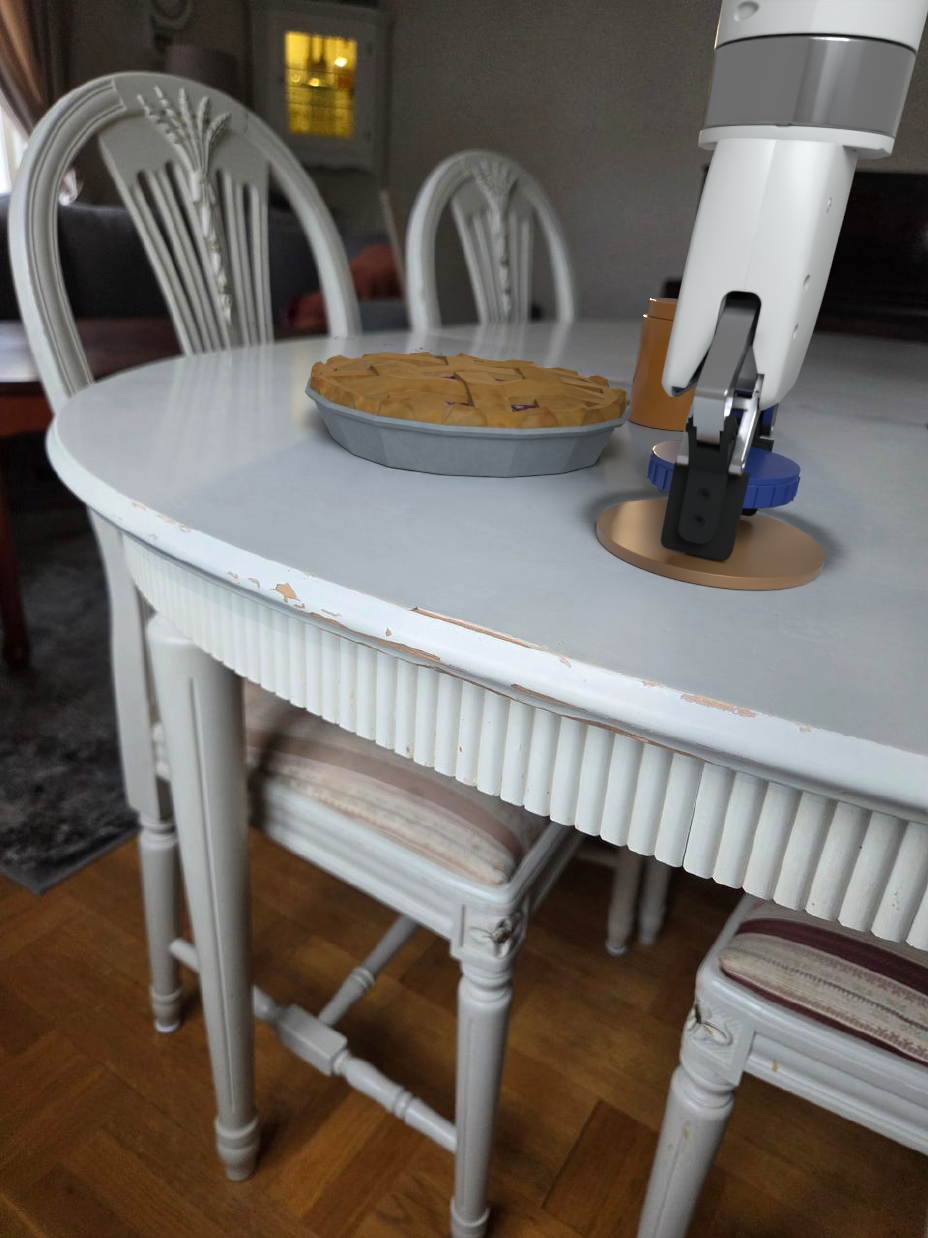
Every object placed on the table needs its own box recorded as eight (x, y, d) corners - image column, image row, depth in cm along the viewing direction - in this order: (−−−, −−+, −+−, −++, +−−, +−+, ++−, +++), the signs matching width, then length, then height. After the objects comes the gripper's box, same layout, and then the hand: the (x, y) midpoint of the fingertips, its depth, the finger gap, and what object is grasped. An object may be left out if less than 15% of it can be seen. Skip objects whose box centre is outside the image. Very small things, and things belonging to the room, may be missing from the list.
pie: (682, 483, 51) (698, 402, 49) (328, 489, 45) (328, 395, 43) (551, 406, 70) (559, 344, 68) (288, 402, 64) (287, 334, 61)
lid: (629, 488, 39) (633, 459, 38) (667, 458, 44) (671, 432, 44) (783, 520, 36) (791, 489, 35) (803, 483, 42) (810, 455, 41)
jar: (710, 421, 69) (734, 304, 65) (694, 434, 64) (719, 308, 60) (638, 409, 71) (657, 295, 67) (617, 421, 66) (636, 299, 62)
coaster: (831, 538, 44) (834, 527, 44) (810, 611, 35) (814, 598, 34) (630, 496, 48) (632, 486, 48) (565, 553, 39) (566, 541, 39)
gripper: (741, 132, 42) (677, 476, 50) (653, 72, 27) (582, 568, 35) (903, 137, 39) (808, 501, 47) (898, 74, 25) (762, 611, 33)
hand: (711, 527), depth 41 cm, fingers closed on lid, 6 cm apart
